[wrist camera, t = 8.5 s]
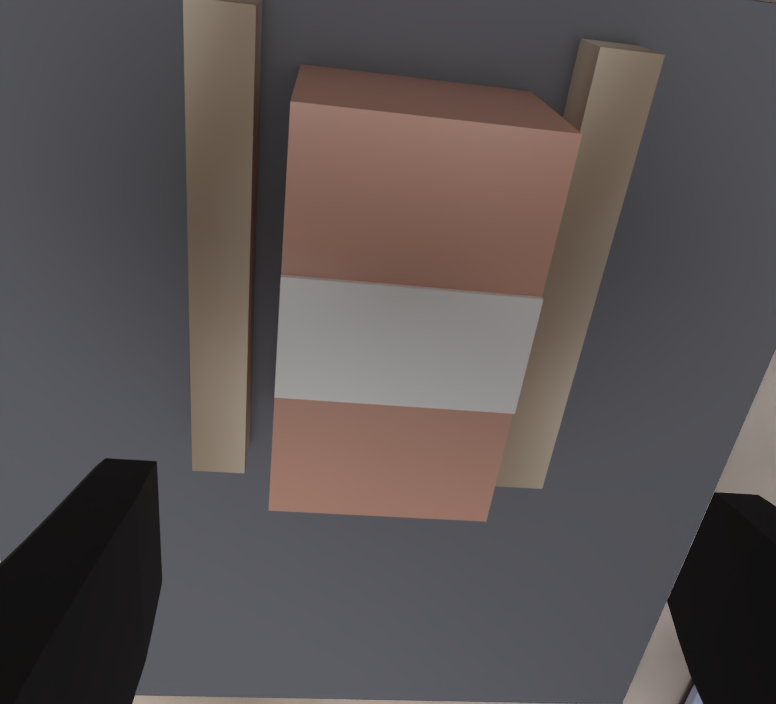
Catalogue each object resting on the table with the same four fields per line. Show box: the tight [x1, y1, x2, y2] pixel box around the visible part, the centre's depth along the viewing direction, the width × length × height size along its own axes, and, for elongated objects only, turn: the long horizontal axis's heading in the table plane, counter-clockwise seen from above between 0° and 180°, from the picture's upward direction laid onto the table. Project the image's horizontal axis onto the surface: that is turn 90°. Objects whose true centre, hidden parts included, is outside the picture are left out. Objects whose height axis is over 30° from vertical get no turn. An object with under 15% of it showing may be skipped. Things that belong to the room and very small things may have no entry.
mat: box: [0, 0, 776, 704], centre depth 19 cm, size 19×21×1 cm
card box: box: [268, 64, 582, 522], centre depth 15 cm, size 8×4×4 cm, turn 173°
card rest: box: [183, 0, 665, 489], centre depth 16 cm, size 8×10×1 cm
